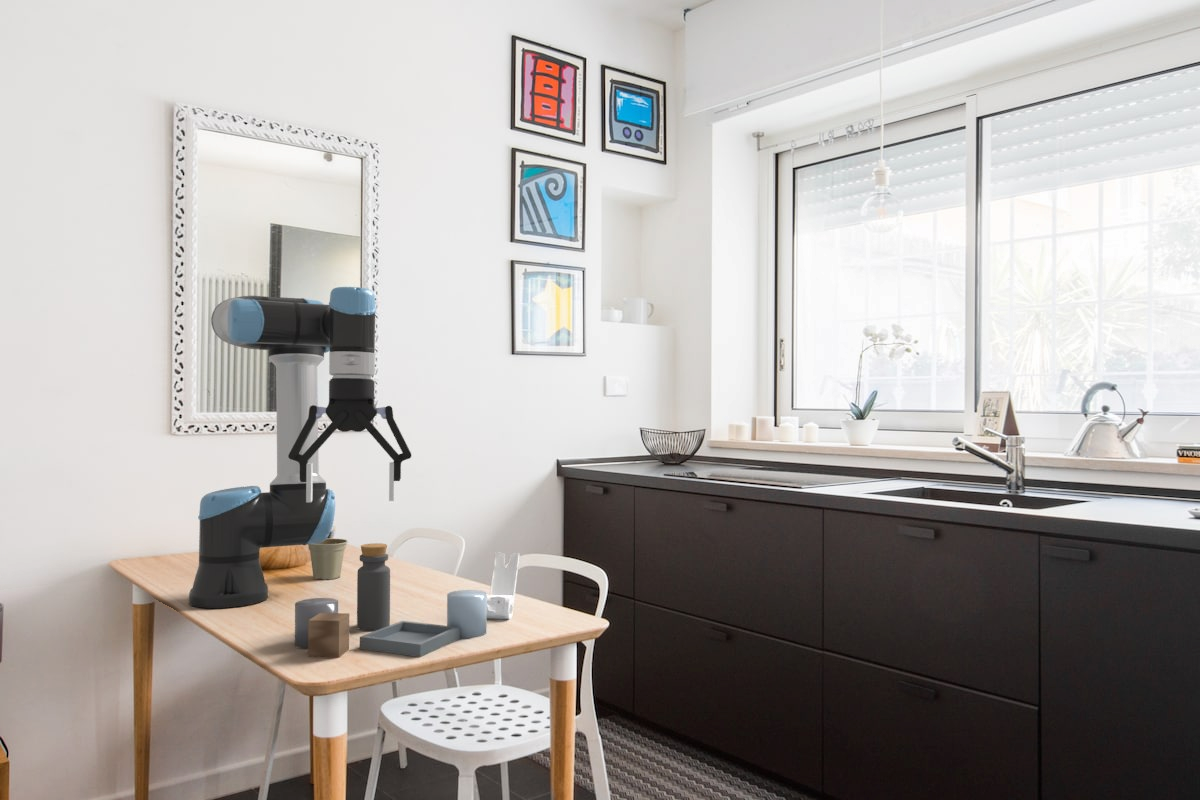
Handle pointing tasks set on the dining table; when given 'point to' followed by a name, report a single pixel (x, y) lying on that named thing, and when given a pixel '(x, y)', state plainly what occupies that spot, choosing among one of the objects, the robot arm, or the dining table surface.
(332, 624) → the walnut block
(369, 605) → the bottle
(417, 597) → the dining table surface
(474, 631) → the light blue cylinder
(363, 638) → the tray
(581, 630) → the dining table surface
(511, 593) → the plastic part
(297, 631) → the gray domed object
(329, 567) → the flower pot
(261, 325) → the robot arm
